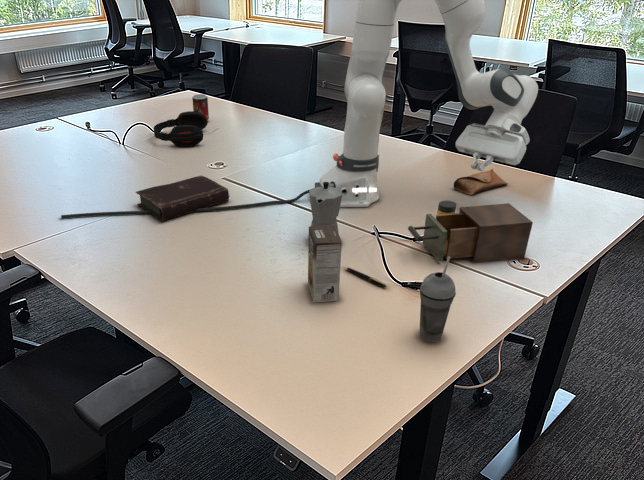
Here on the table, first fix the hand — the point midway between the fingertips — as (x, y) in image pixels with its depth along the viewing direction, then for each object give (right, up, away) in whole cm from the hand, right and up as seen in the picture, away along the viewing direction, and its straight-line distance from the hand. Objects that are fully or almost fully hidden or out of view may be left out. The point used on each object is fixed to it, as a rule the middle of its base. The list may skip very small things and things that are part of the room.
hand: (476, 168), depth 174 cm
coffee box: (-49, -37, -29) cm, 68 cm away
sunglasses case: (+11, -1, +26) cm, 28 cm away
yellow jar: (-9, -17, +1) cm, 19 cm away
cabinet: (-2, -25, -13) cm, 28 cm away
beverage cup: (-27, -47, -46) cm, 71 cm away
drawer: (-14, -25, -14) cm, 33 cm away
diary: (-89, -7, +21) cm, 92 cm away
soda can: (-91, +45, +105) cm, 146 cm away
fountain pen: (-38, -34, -24) cm, 56 cm away
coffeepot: (-45, -22, -5) cm, 51 cm away
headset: (-95, +31, +82) cm, 129 cm away
